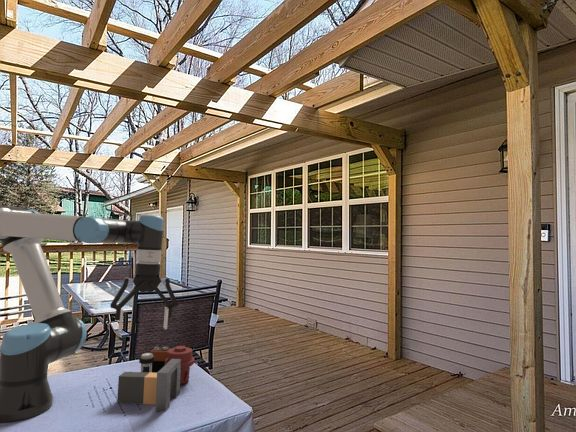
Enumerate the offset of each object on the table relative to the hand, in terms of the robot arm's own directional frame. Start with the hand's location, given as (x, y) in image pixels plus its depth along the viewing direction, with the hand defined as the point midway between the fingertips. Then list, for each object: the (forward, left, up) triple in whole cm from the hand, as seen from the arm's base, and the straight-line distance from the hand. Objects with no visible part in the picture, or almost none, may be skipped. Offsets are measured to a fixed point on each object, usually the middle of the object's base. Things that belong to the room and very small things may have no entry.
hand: (143, 329), depth 118 cm
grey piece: (+10, -2, -21) cm, 24 cm away
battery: (-1, +20, -22) cm, 30 cm away
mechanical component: (+8, +13, -22) cm, 26 cm away
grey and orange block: (+1, -2, -21) cm, 21 cm away
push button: (-2, +11, -22) cm, 24 cm away
